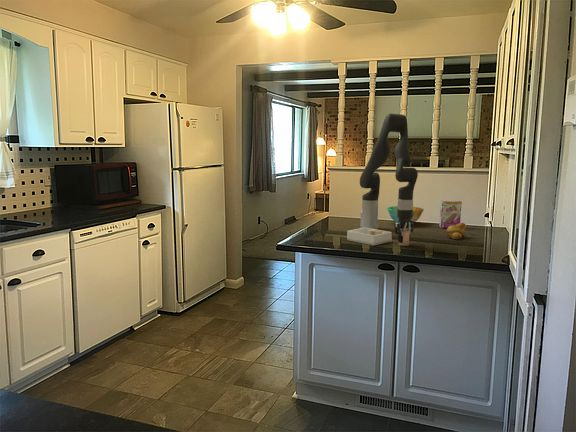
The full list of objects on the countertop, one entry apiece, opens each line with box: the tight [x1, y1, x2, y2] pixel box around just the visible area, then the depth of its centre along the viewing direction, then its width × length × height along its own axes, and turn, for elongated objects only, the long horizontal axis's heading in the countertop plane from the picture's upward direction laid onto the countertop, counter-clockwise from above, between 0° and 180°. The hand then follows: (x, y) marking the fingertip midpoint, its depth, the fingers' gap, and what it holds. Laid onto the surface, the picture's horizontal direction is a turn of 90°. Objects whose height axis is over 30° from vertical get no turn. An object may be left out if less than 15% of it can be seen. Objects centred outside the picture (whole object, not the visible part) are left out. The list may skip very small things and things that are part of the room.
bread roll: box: [445, 222, 467, 240], centre depth 246 cm, size 13×10×8 cm
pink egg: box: [398, 230, 410, 247], centre depth 229 cm, size 5×5×7 cm
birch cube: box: [369, 229, 384, 235], centre depth 236 cm, size 5×5×5 cm
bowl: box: [386, 205, 425, 223], centre depth 287 cm, size 22×22×10 cm
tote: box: [346, 227, 393, 246], centre depth 239 cm, size 18×15×5 cm
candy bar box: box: [439, 199, 462, 229], centre depth 274 cm, size 11×5×16 cm, turn 84°
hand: (403, 241), depth 229 cm, fingers closed on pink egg, 5 cm apart
